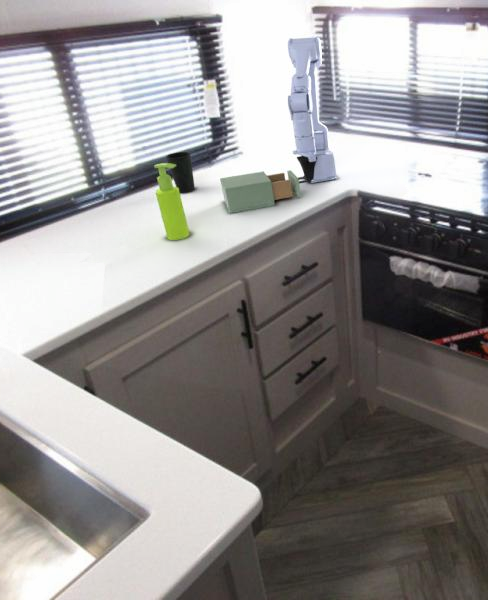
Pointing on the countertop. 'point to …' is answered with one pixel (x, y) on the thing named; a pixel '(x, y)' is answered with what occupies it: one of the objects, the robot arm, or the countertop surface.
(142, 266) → the countertop surface
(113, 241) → the countertop surface
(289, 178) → the drawer
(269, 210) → the countertop surface
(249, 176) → the cabinet
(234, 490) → the countertop surface
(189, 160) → the cup
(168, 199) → the soap dispenser
